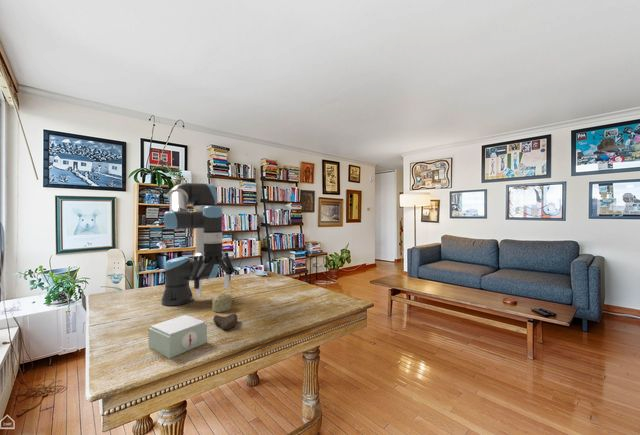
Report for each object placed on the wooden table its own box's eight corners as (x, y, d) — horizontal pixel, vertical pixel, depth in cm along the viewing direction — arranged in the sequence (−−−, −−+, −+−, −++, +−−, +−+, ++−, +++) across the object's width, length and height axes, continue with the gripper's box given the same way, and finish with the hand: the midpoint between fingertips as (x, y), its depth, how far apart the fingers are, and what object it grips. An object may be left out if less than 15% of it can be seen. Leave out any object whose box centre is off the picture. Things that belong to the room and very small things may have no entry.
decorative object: (232, 316, 138) (238, 297, 144) (220, 310, 131) (227, 290, 136) (216, 316, 141) (223, 297, 147) (204, 309, 133) (212, 289, 139)
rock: (213, 321, 123) (213, 313, 122) (237, 320, 125) (237, 312, 125) (209, 332, 112) (209, 323, 112) (236, 330, 114) (236, 321, 114)
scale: (148, 347, 100) (148, 325, 99) (185, 333, 111) (185, 314, 111) (170, 359, 91) (170, 335, 91) (208, 342, 103) (208, 322, 103)
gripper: (190, 245, 105) (190, 301, 105) (242, 240, 125) (242, 287, 125) (179, 244, 109) (179, 298, 109) (231, 240, 130) (231, 285, 130)
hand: (213, 292), depth 117 cm, fingers open, 13 cm apart
